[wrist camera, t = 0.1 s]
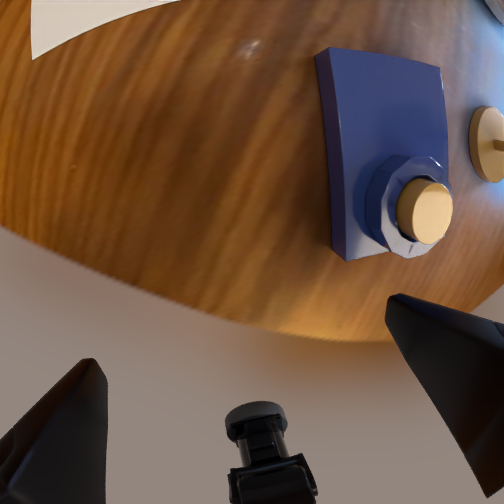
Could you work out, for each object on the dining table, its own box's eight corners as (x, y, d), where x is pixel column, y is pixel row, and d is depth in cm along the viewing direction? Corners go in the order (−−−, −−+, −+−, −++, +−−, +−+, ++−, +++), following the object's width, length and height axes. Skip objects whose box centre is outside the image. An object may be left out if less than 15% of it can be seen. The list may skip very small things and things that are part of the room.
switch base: (428, 229, 22) (458, 244, 18) (331, 250, 21) (358, 273, 17) (422, 70, 16) (456, 65, 13) (314, 55, 15) (342, 38, 12)
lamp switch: (434, 231, 18) (450, 239, 16) (393, 240, 17) (409, 250, 16) (436, 176, 16) (454, 181, 14) (395, 179, 16) (413, 185, 14)
